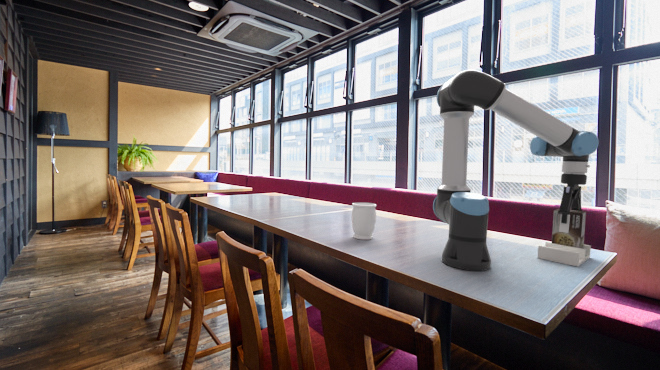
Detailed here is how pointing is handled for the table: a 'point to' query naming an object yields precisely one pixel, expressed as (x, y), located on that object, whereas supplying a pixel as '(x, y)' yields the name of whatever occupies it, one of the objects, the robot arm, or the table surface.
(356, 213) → the jar
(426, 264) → the table surface
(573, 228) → the coffee box
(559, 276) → the table surface
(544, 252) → the comb rack
